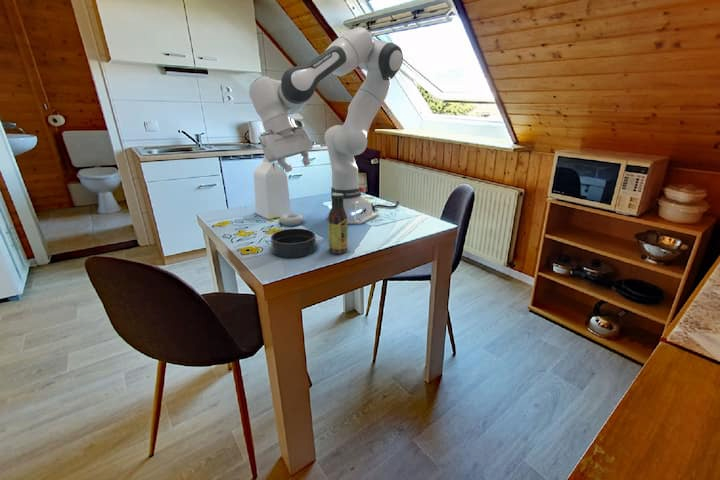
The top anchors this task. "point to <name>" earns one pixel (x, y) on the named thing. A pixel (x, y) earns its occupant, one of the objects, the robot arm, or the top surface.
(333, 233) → the sauce bottle
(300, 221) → the donut
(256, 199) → the milk
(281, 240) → the pan
